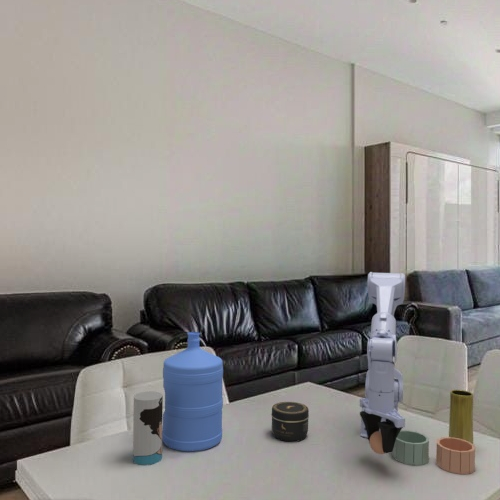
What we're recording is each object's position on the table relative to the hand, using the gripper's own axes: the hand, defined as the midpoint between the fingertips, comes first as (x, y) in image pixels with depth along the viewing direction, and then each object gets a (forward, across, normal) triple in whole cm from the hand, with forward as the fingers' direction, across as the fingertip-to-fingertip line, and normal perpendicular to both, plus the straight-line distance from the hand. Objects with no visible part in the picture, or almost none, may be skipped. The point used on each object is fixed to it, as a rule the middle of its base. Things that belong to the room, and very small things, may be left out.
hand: (380, 447), depth 111 cm
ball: (-1, 0, 0) cm, 1 cm away
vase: (+5, -1, +26) cm, 26 cm away
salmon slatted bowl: (+4, +6, +17) cm, 18 cm away
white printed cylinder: (+5, -22, -50) cm, 55 cm away
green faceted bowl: (+4, -1, +10) cm, 11 cm away
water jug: (+5, -29, -38) cm, 48 cm away
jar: (+5, -23, -12) cm, 27 cm away
